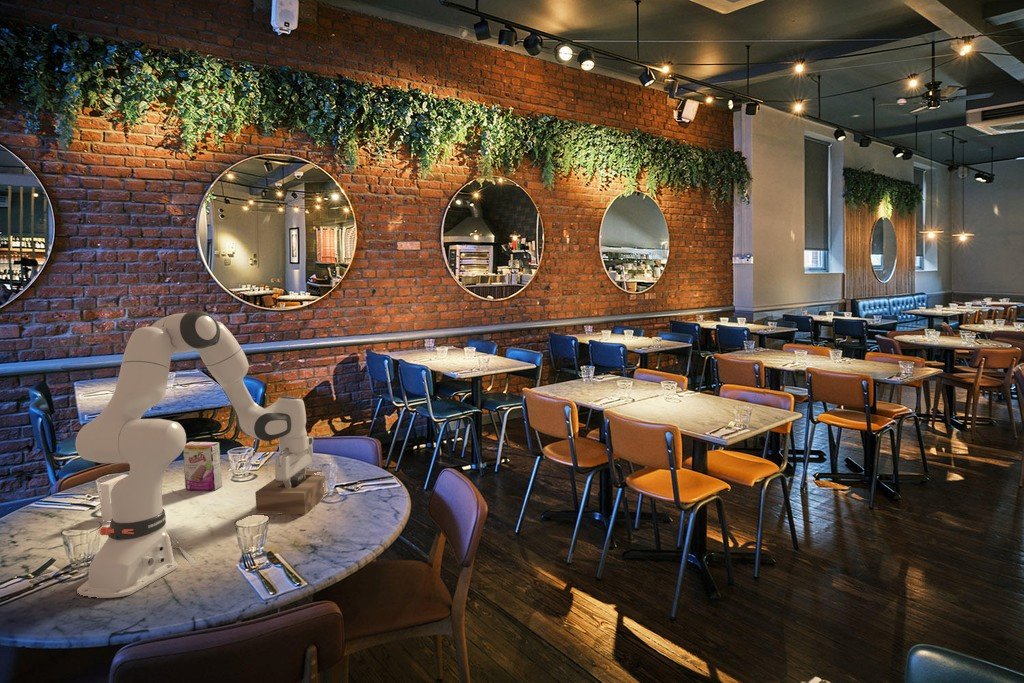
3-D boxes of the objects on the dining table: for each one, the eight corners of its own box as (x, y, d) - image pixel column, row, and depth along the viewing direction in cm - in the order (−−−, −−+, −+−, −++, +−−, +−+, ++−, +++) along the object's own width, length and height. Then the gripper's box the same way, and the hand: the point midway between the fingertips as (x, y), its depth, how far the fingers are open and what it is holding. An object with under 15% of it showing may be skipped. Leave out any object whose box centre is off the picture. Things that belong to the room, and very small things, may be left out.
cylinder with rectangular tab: (119, 522, 190) (116, 485, 189) (94, 521, 192) (91, 483, 191) (142, 511, 199) (139, 475, 198) (118, 510, 201) (115, 474, 199)
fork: (192, 570, 159) (191, 563, 159) (161, 542, 176) (161, 536, 176) (205, 566, 162) (204, 559, 161) (174, 539, 178) (173, 533, 178)
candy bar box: (184, 490, 218) (181, 445, 216) (193, 485, 223) (190, 441, 221) (215, 491, 217) (211, 445, 215) (223, 486, 222) (219, 441, 220)
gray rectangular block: (299, 500, 203) (297, 477, 202) (287, 500, 204) (286, 477, 203) (304, 496, 207) (303, 473, 206) (293, 496, 208) (291, 473, 207)
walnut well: (305, 514, 194) (304, 493, 193) (256, 513, 196) (255, 492, 195) (332, 490, 216) (331, 470, 215) (288, 489, 217) (287, 469, 217)
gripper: (287, 453, 193) (290, 496, 194) (315, 436, 213) (317, 475, 215) (268, 453, 194) (271, 496, 195) (297, 436, 214) (300, 475, 215)
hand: (295, 485), depth 205 cm, fingers open, 8 cm apart
